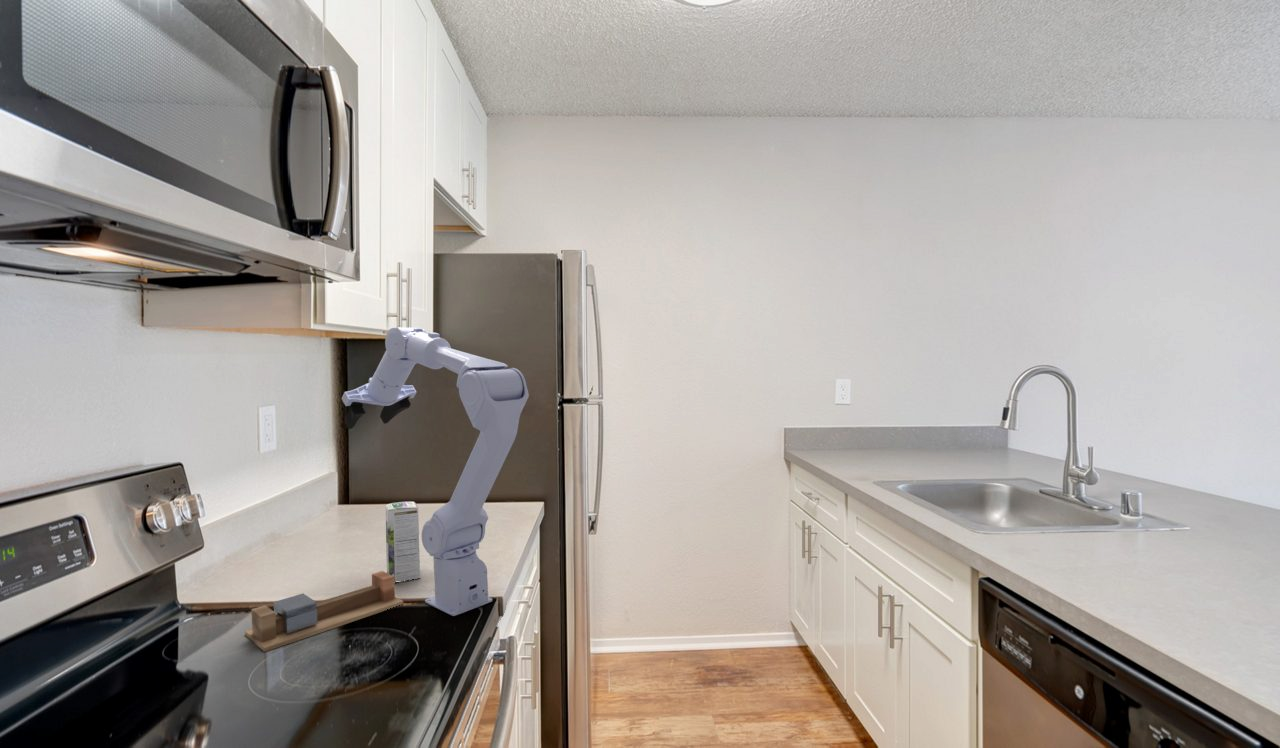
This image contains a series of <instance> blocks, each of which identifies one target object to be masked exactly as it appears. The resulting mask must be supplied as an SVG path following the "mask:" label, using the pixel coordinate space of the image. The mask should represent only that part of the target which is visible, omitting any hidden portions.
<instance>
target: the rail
mask: <svg viewBox="0 0 1280 748" xmlns="http://www.w3.org/2000/svg"><path fill="white" fill-rule="evenodd" d="M395 594H396V593H395V583H394V576H392V575H390V574H388V573H387V571H384V570H381V571H377V572H374V573H371V585H370V586H369V585H368V586H366V587H362V588H360V589H356V590H352V591H350V592H346V593H343V594H339V595H337V596H333V597H330V598H326V599H324V600H320V601H316V602H317V624H315V625H312V626H309V627H306V628H303V629H300V630H297V631H294V632H291V633H288V634H287V633H286V632H284V630H283V616H282V615H281V614H277V615H275V612H274V609H271V608H270V607H269V606H267V605H266V604H265V605H261V606H258V607H254V608H251V610H250V611H251V612H250V613H251V628H249V629H247V630H245V631H244V635H245V636H246V637H247V638H248V639H249V640H251V642H253V643H254V644H255V645H256V646H257V647H258V648H259V649H260V650H262V651H263V652H264V653H265V652H269V651H271V650H275V649H276V648H280V647H283V646H286V645H289V644H291V643H294V642H298V641H301V640H303V639H306V638H308V637H309V638H310V637H312V636H315V635H318V634H321V633H323V632H327V631H330V630H332V629H335V628H339V627H342V626H344V625H347V624H350V623H352V622H355V621H358V620H361V619H364V618H367V617H371V616H374V615H377V614H380V613H382V612H384V611H385V612H386V611H388V610H391V609H394V608H396V606H397V607H400V606H403V605H404V600H403V599H401V598H399V597H396V595H395ZM402 604H403V605H402ZM399 605H400V606H399ZM393 607H394V608H393ZM390 608H391V609H390ZM387 609H388V610H387Z"/></svg>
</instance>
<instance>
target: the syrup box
mask: <svg viewBox="0 0 1280 748" xmlns="http://www.w3.org/2000/svg"><path fill="white" fill-rule="evenodd" d="M419 521H420V520H419V507H418V505H417V503H416V502H415V501H399V502H391V503H388V504H385V552H386V556H385V557H386V558H385V559H386V573H388V574H390V575H392V576H394V582H396V581H404V580H409V581H413V580H412V579H414V580H418V578H419V579H420V578H421V569H420V567H421V566H420V565H421V563H420V562H421V561H420V560H421V559H420V523H419ZM404 582H405V581H404Z"/></svg>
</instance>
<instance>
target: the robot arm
mask: <svg viewBox="0 0 1280 748" xmlns="http://www.w3.org/2000/svg"><path fill="white" fill-rule="evenodd" d="M440 335H441V334H440V333H437V332H428V331H426V330H424V328H422V327H401V326H400V327H396V326H395V327H391V328H389V329H388V330H387V332H386V335H385V340H384V343H385V351H384V354H383V356H382V358H381V360H380V362H379V364H378V366H377V367H376V370H375V372H374V373H373V376H372V377H369V379H368V383H365V384H363V385H361V386H359V387H357V388H355V389H351V390H347V391H344V392H343V395H342V397H341V400H342V402H343V404H344V407H345V415H344V424H345V426H346V428H347V429H348V430H351V429H353V428H354V427H355V425H356V424H357V423H358V421H359V419H360V418H361V417H362V416H363V415H365V414H367V412H366V410H365V409H364V407H363V406H364V404H367V405H368V404H369V405H375V406H376V405H377V406H382V407H383V408H382V409H381V411H380V415H379V417H380V420H381V421H382V423H383V424H384V425H385V424H388V423H389V422H390V421H391V420H392V419H393V418H395V416H397V415H399V414H400V413H401V412H403V411H405V410H407V409H410V407H411V404H412V403H411V401H410V400H409V399H414V398H415V396H416V394H417V390H416V389H415V387H414V385H410V384H409V385H407V384H405V383H406V381H407V380H408V378H409V376H410V374H411V372H412V370H413V369H414V367H415V365H417V364H419V365H421V366H423V367H426V368H429V369H432V370H440V369H442V368H444V369H445V368H446V369H447V370H448V371H451V372H453V373H455V374H457V375H458V376H457V380H456V387H457V389H458V393H459V394H458V395H459V398H460V401H461V403H462V405H463V407H464V410H465V412H466V414H467V417H468V418H469V420H470V421H469V422H470V423H471V425H472V427H473V428H474V429H476V430H478V431H479V435H478V437H477V439H476V442H475V443H474V446H473V448H472V450H471V453H470V455H469V457H468V459H467V461H466V464H465V466H464V468H463V471H462V473H461V475H460V477H459V480H458V481H457V484H456V487H455V488H454V491H453V493H452V494H451V497H450V499H449V501H448V502H447V503H445V504H444V505H443V506H440V507H439V508H438V509H437V510H435V511H434V512H433V514H432V517H431V518H430V519H429V520H427V521H425V523H424V524H423V526H422V530H421V533H420V534H421V543H422V546H423V548H424V550H425V551H426V553H428V554H429V556H431V557H433V573H434V574H433V575H434V576H433V578H434V582H433V583H434V596H432V597H428V598H425V600H424V602H425V603H426V604H427V605H430V606H431V607H434V608H436V609H438V610H440V611H442V612H444V613H445V614H448V615H450V616H452V617H455V616H458V615H461V614H464V613H467V612H468V611H469V612H470V611H471V610H474V609H477V608H479V607H481V606H485V605H486V604H489V603H491V602H493V598H492V597H490V596H489V591H488V590H489V589H488V588H489V585H488V582H489V581H488V568H487V565H486V563H485V562H484V561H483V560H482V559H480V558H479V556H478V554H477V550H479V549H480V543H482V541H483V540H484V538H485V535H486V525H487V522H488V520H489V516H488V514H487V512H486V510H485V508H484V505H485V503H486V500H487V498H488V496H489V494H490V492H491V490H492V488H493V486H494V483H495V481H496V479H497V478H498V475H499V474H500V471H501V469H502V467H503V465H504V463H505V461H506V460H507V459H506V458H507V456H508V455H509V452H510V450H511V448H512V446H513V444H514V443H515V440H516V437H517V434H518V429H519V423H520V417H521V414H522V411H523V409H524V408H525V405H526V403H527V400H528V399H529V397H530V393H529V390H528V386H527V385H528V384H527V381H526V379H525V376H524V374H523V373H522V371H520V370H519V369H518V368H515V367H511V368H508V367H509V365H508V364H506V363H504V362H501V361H497V360H493V359H489V358H486V357H483V356H478V355H476V354H472V353H469V352H464V351H461V350H457V349H454V348H452V347H451V346H452V345H450V343H449V341H447V340H446V339H445V338H443V337H440Z"/></svg>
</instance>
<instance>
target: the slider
mask: <svg viewBox="0 0 1280 748" xmlns="http://www.w3.org/2000/svg"><path fill="white" fill-rule="evenodd" d="M317 602H318V601H316V600H314V599H313V598H311V597H310V596H308V595H306V594H305V593H301V594H297V595H294V596H289V597H286V598H283V599H279V600H276V601H273V611H274V612H275V615H277V614H281V615H282V616H283V630H284V632H286V633H287V634H288V633H291V632H294V631H297V630H300V629H303V628H306V627H309V626H312V625H315V624H317Z"/></svg>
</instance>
